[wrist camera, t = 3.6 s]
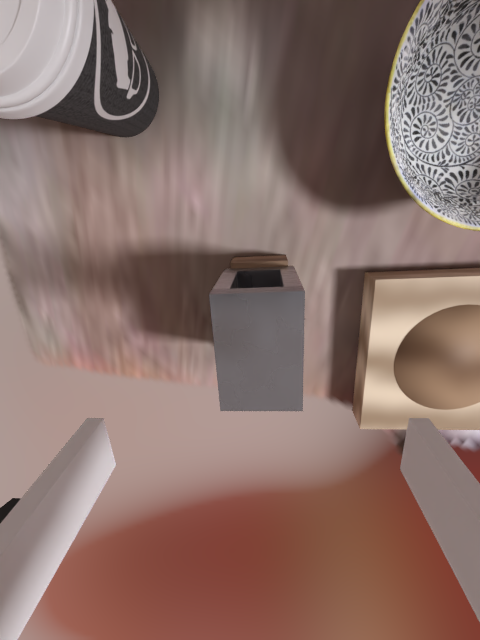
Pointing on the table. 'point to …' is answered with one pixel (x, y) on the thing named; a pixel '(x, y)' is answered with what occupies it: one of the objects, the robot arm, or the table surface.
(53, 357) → the table surface
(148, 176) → the table surface
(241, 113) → the table surface
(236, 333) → the housing
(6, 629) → the robot arm
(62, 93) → the coffee cup
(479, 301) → the plate
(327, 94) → the table surface
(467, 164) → the bowl
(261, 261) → the stand
